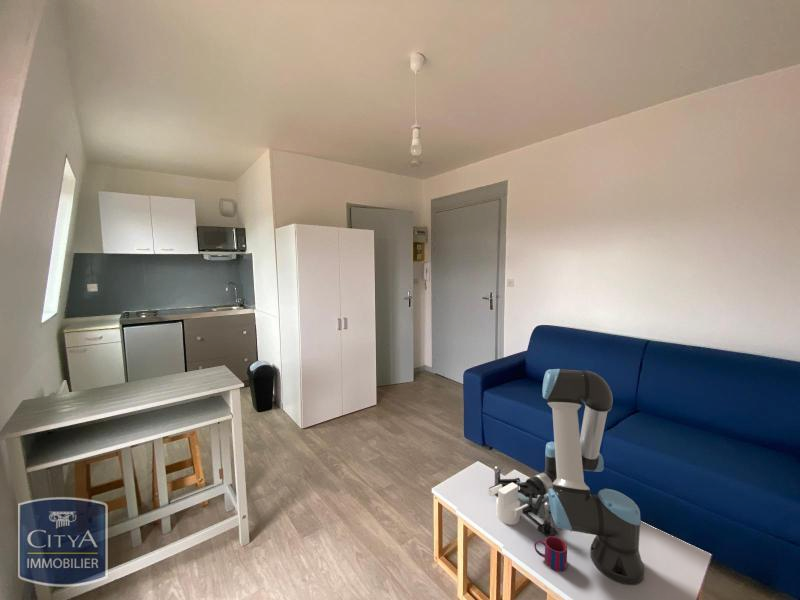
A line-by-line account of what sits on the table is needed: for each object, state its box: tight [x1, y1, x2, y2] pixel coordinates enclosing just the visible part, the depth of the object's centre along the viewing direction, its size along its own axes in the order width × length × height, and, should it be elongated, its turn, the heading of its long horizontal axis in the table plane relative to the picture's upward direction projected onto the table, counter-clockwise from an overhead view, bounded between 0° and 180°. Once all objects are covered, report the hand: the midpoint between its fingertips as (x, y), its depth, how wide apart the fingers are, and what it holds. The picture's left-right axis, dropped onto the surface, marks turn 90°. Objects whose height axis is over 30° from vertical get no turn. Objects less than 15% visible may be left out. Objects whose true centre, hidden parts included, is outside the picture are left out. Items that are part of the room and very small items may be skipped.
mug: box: [534, 536, 568, 572], centre depth 112 cm, size 7×10×7 cm
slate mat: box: [518, 493, 549, 518], centre depth 140 cm, size 14×12×1 cm
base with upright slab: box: [495, 482, 521, 526], centre depth 132 cm, size 9×9×12 cm
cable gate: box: [488, 465, 558, 538], centre depth 135 cm, size 31×5×12 cm, turn 28°
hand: (502, 502), depth 130 cm, fingers open, 13 cm apart
